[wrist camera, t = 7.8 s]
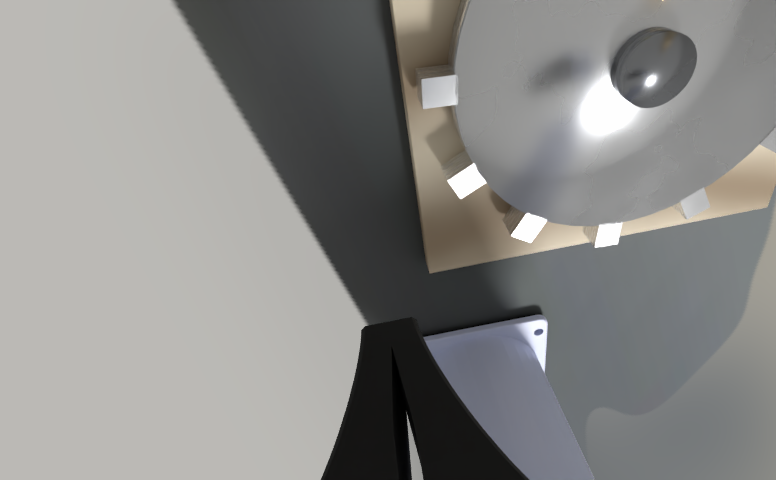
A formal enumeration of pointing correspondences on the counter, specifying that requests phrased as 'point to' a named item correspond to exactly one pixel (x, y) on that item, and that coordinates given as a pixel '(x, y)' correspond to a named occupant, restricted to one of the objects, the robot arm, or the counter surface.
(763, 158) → the sprocket base
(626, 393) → the counter surface
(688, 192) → the sprocket
